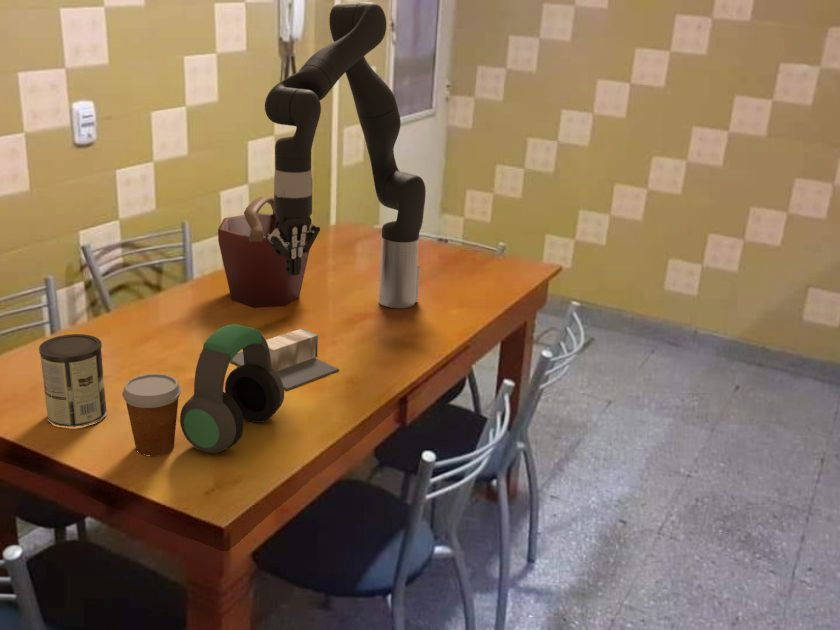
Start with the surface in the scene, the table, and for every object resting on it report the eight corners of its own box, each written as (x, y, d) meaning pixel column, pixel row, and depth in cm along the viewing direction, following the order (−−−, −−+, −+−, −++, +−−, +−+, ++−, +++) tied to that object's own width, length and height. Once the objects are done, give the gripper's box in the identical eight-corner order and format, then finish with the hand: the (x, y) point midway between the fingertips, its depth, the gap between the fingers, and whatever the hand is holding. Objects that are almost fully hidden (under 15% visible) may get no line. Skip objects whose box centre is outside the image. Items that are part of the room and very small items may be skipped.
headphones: (229, 465, 149) (226, 356, 142) (175, 449, 153) (170, 342, 146) (289, 418, 166) (289, 318, 159) (239, 405, 170) (237, 307, 162)
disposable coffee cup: (153, 467, 147) (149, 402, 143) (114, 449, 152) (109, 386, 148) (195, 444, 155) (193, 382, 151) (156, 428, 159) (153, 367, 155)
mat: (276, 342, 199) (276, 340, 198) (338, 370, 186) (338, 368, 186) (225, 358, 189) (225, 357, 189) (286, 390, 177) (286, 388, 176)
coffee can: (72, 398, 168) (66, 329, 163) (118, 409, 165) (113, 339, 160) (33, 422, 159) (25, 350, 154) (81, 434, 156) (75, 361, 151)
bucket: (275, 320, 211) (275, 217, 202) (196, 303, 218) (193, 203, 209) (324, 289, 232) (325, 195, 223) (250, 275, 239) (249, 183, 230)
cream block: (302, 328, 193) (257, 342, 184) (317, 335, 190) (273, 350, 181) (301, 349, 194) (258, 364, 186) (317, 356, 191) (273, 372, 183)
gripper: (305, 183, 183) (305, 263, 190) (254, 192, 174) (256, 276, 180) (330, 190, 179) (329, 272, 185) (279, 200, 169) (280, 286, 176)
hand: (293, 274), depth 183 cm, fingers closed
